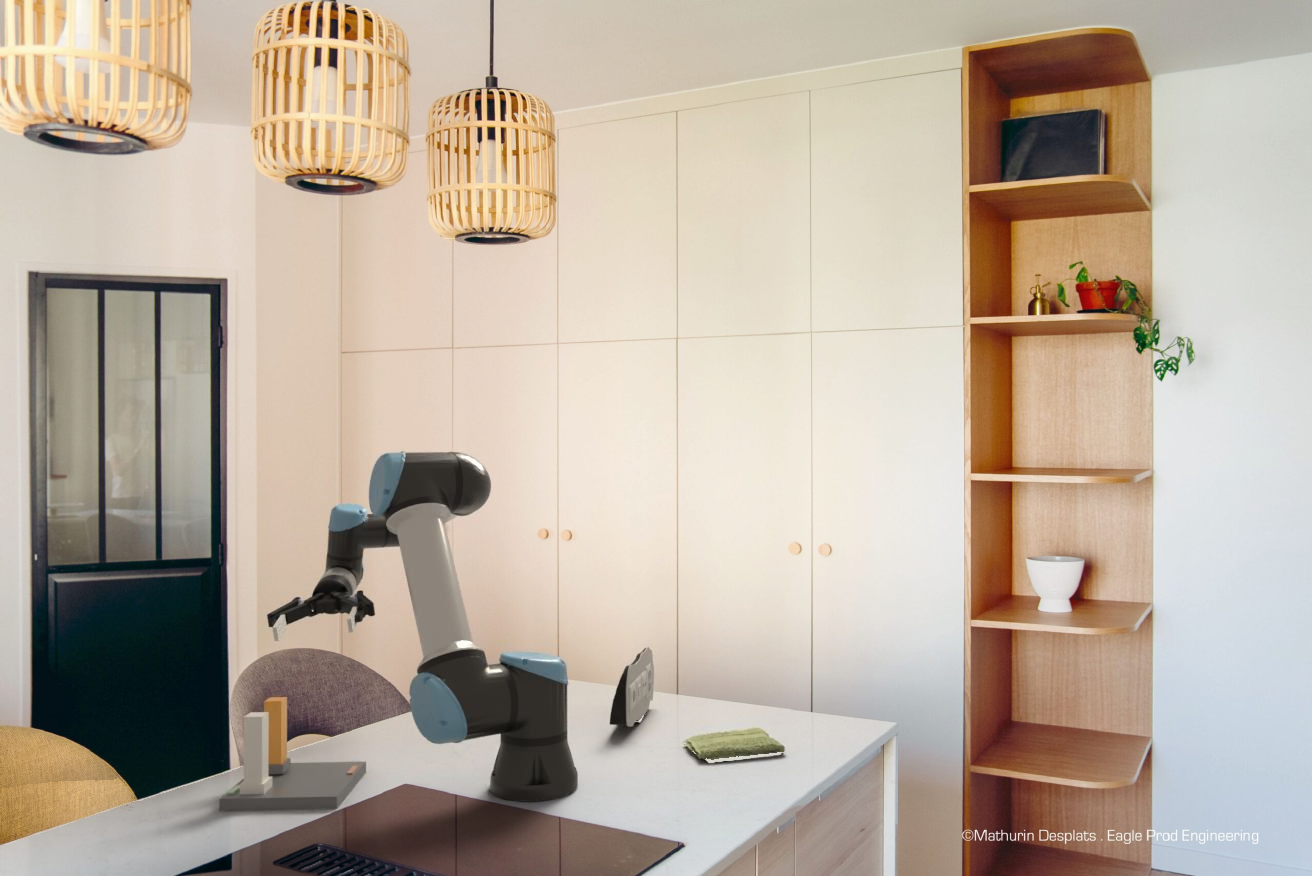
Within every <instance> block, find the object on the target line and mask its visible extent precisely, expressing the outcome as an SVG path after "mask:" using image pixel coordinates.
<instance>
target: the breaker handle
mask: <svg viewBox="0 0 1312 876" xmlns="http://www.w3.org/2000/svg"><path fill="white" fill-rule="evenodd" d="M263 712H269V735H268V774H284V773H285V772H286V771H287V770H288V769H289V768H290V767H291V763H292V762H291V761H292V760H291V757H288V697H287V696H275V697H273V696H270V697H268V698H267V699H266V700H264V701H263Z"/></svg>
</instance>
